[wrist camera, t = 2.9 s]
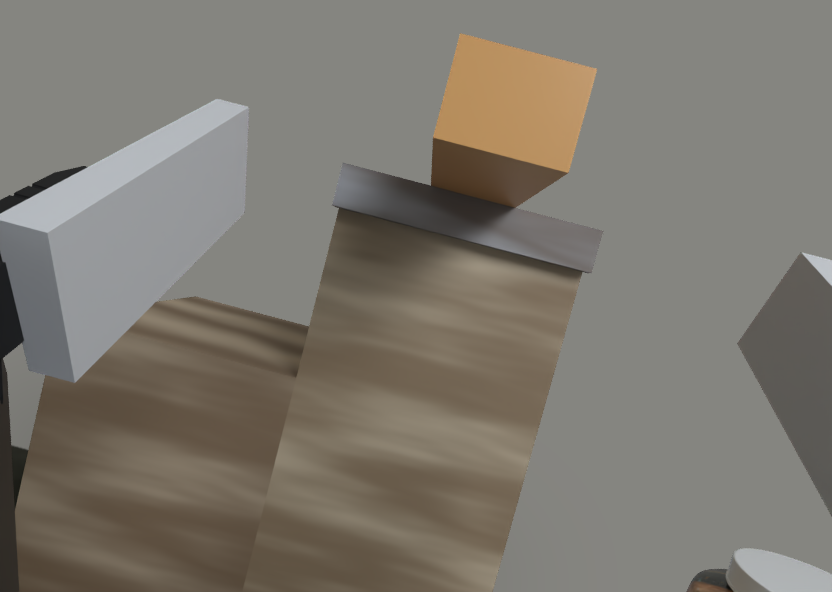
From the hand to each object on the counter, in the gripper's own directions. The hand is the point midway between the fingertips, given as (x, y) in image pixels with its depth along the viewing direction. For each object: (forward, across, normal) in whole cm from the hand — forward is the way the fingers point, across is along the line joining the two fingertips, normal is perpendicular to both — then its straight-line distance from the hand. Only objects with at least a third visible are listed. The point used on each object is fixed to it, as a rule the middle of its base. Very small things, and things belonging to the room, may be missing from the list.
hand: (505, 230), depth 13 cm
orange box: (+15, 0, -6) cm, 16 cm away
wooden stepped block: (+4, -6, -34) cm, 35 cm away
